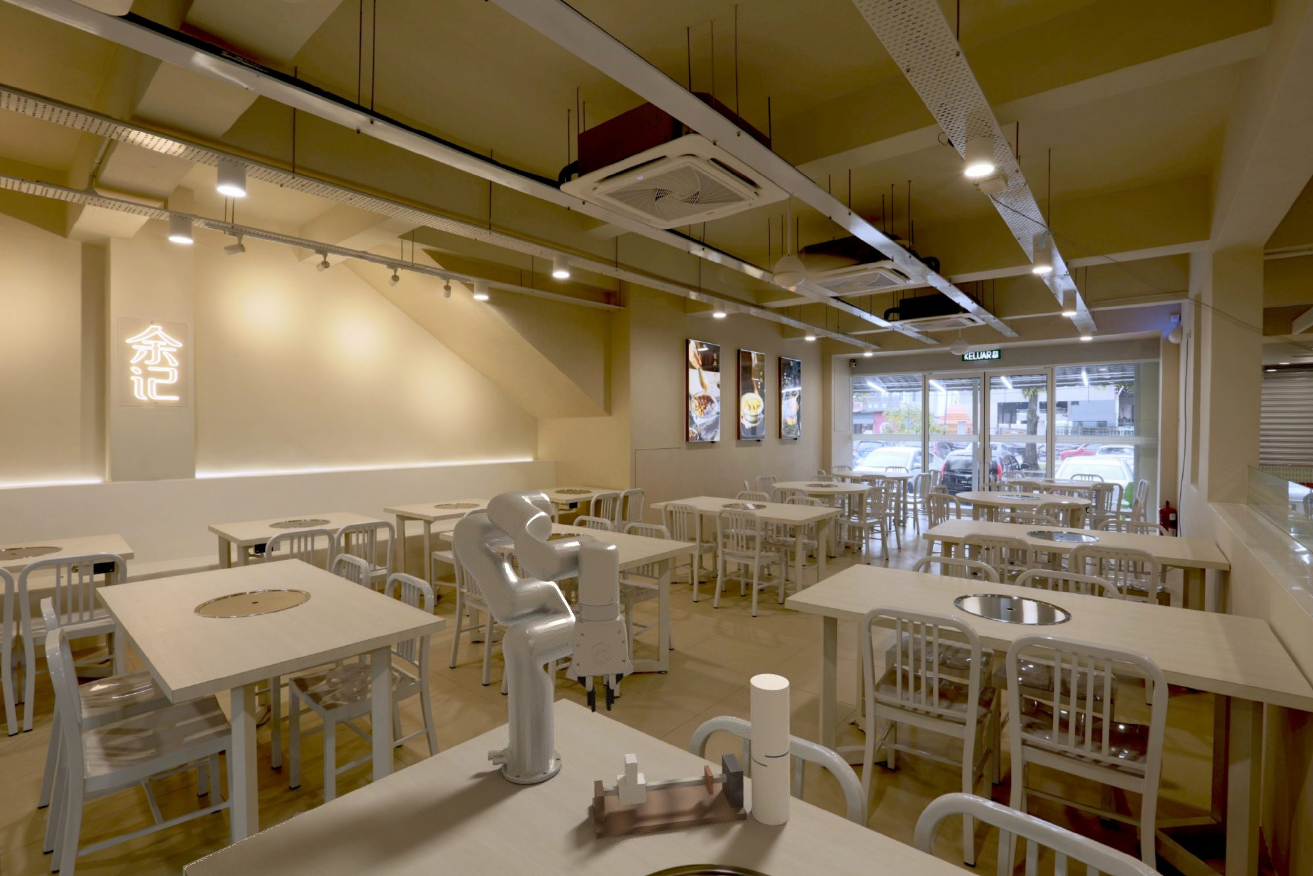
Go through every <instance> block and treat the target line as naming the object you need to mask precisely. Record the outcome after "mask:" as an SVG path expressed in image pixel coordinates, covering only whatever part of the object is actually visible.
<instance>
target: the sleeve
mask: <svg viewBox="0 0 1313 876" xmlns="http://www.w3.org/2000/svg"><path fill="white" fill-rule="evenodd" d="M636 756H637V755H636V753H635V752H634V753H627V754H624V774H617V775H616V786H618V788H619V795H617V796H618V802H619V806H622V805H630V804H638V803H646V779H645V776H644V772H638V760H637V757H636Z"/></svg>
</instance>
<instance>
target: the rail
mask: <svg viewBox="0 0 1313 876" xmlns="http://www.w3.org/2000/svg"><path fill="white" fill-rule="evenodd" d="M703 767H704V768H703V769H704V770H703V771H704V772H703V775H700V776H699V775H698V776H692V777H681V778H675V779H673V778H672V779H665V780H656V781H649V782H646V781H645V782H646V803H638V804H630V805H622V806H619V802H618V796H617V795H619V788H618V786H617V785H614V786H613V785H612V786H605V787H604V783H603V779H602V780H601V779H600V780H594V781H593V785H594V790H593V792H594V797H592V811H593V819H594V829H595V830H594V831H595V838H596V839H597V840H598V839H605V838H615V837H619V836H620V837H621V836H627V835H628V836H629V835H637V834H643V833H651V832H659V831H667V830H673V829H674V830H675V829H683V828H690V827H699V826H706V825H713V824H721V823H729V822H730V823H731V822H737V821H745V820H748V812H747V810H746V808H745V805H744V799H745V798H744V795H745V793H744V792H745V791H744V785H745V784H744V781H745V780H744V769H743V768H742V765H741V764H740V762H739V760H738V759H737V757H736V755H735V753H729V754H728V753H727V754H722V755H721V773H718V774H717V773H716V774H713V772H712V770H711V768H710V766H709V765H708V764H707V765H704V766H703Z"/></svg>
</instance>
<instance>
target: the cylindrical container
mask: <svg viewBox="0 0 1313 876" xmlns="http://www.w3.org/2000/svg"><path fill="white" fill-rule="evenodd" d="M790 734H791V733H790V681H789V680H788V679H787V678H786V677H784V676H782V675H778V674H775V673H774V674H772V673H761V674H756V675H754V676H753V677H751V678H750V751H751V752H750V758H751V759H750V760H751V761H750V762H751V763H750V765H751V766H750V768H751V769H750V770H751V771H750V773H751V775H750V776H751V814H752V816H753V818H754V819H756V820H757V821H758V822H760V823H762V824H765V825H768V826H779V825H783V824H786V823H787V822H788V821H789V820H790V818H791V770H790V769H791V759H790V757H791V753H790V752H791V750H790V746H791V743H790Z"/></svg>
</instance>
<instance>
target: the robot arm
mask: <svg viewBox="0 0 1313 876" xmlns="http://www.w3.org/2000/svg"><path fill="white" fill-rule="evenodd" d="M552 505H553V504H552V502H551V500H550V498H549V496H547V494H546V493H545V492H543V491H541V490H538V489H537V490H536V489H532V490H531V489H529V490H518V491H509V492H507V491H506V492H502V493H499V494H497V495H495V496H493V497H492V498H491V499H490V500H489V502H488V504H487V506H486V511H485V512H480V513H475V514H470V515H467V516H465V517H462V518H461V519H459V520H458V521H457V523H456V524H455V525H454V528H453V532H452V533H453V534H452V536H453V537H452V539H453V545H454V549H455V553H456V556H457V557H458V559H459V562H460V563H461V564H462V566H463V568H465V570H466V571H467V572H468V573H469V574H470V576H471V578H473V579H474V581H475V583H476V585H477V586H478V589H479V591H480V593H481V595H482V596H483V600H484V601H485V603H486V606H487V607H488V609H489V611H490V613H491V615H492V617H493V618H494V620H495V621H496V623H497V624H499V625H501V626H503V627H509V626H511V627H510V628H509V629H507V631H506V632H504V635H503V637H502V643H501V644H502V645H501V647H502V654H503V655H502V656H503V659H504V664H505V669H506V679H507V700H508V701H507V702H508V703H507V707H508V708H507V709H508V744H507V747H503V749H499V750H497V749H493V750H488V752H487V761H488V762H489V761H490V762H491V761H492V766H498V765H502V766H501V771H502V775H503V777H504V778H505V779H506V780H508V781H510V782H511V783H516V784H519V785H520V784H521V785H529V784H537V783H541V782H544V781H546V780H549V779H551V778H552V777H554V776H555V775H557V773H558V772H559V771H560V770H561V767H562V762H563V761H562V756H561V754H560V753H559V752H558V751H557V750H556V749H555V722H554V720H555V715H554V714H555V713H554V712H555V711H554V709H555V708H554V706H555V705H554V683H553V680H552V679H551V677H550V674H548V673H547V672H546V671H545V670H544V665H545V664H548V663H550V662H552V661H556V660H559V659H561V658H565V657H568V656H571V661H570V662H569V666H568V667H567V670H566V673H565V675H566V678H567V679H570V680H572V681H576V682H578V683H579V684H580V685H581V686H582V687H584V689H585V690H586V703H587V704H586V705H587V707H590V710H591V713H596V712H597V711H596V710H597V709H596V705H597V704H596V687H595V684H594V682H593V680H594V678H593V677H599V676H600V677H601V676H607V681H606V684H605V706H606V707H605V708H606V711H608V712H611V711H612V705H614V704H615V689H616V687H617V685H618V684H619V683H620V682H621V681H622V679H623V678H625V677H627V676H629V675H631V674H632V673H634V671H635V670H634V666H633V664H632V662H631V660H630V658H629V647H628V646H629V645H628V632H627V626H626V620H625V617H624V615H623V614H621V613H620V560H619V559H620V555H619V554H620V552H619V548H618V547H617V545H616V544H614V543H612V542H608V541H601V540H599V539H597V538H595V537H594V536H591V535H578V536H572V537H565V538H559V539H552V540H549V538H550V536H551V534H552V531H553V523H552V522H553V521H552V518H551V517H552V513H553V506H552ZM511 545H512V546H513V545H514V546H513V549H514V554H515V557H516V560H517V562H518V564H519V566H520V568H522V569H523V571H525V572H526V573H528V574H529V575H530V577H526V578H520V577H519V576H518V575H517V574H516V572H515V570H514V569H513V567H512V565H511V564H510V562H509V561H508V560H507V559H505V558H504V557H503V556H501V555H500V554H498V553H496V552H494V551H492V550H491V549H494V548H499V547H505V546H511ZM575 577H578V579H577V580H578V602H577V603H576V604H574V605H571V606H570V605H569V603H568V601H567V599H566V598H565V596H564V594H563V593H562V591H561V589H560V588H559V586H558V584H557V583H556V582H558V581H561V580H564V579H570V578H575ZM575 614H577V615H578V616H576V615H575Z"/></svg>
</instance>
